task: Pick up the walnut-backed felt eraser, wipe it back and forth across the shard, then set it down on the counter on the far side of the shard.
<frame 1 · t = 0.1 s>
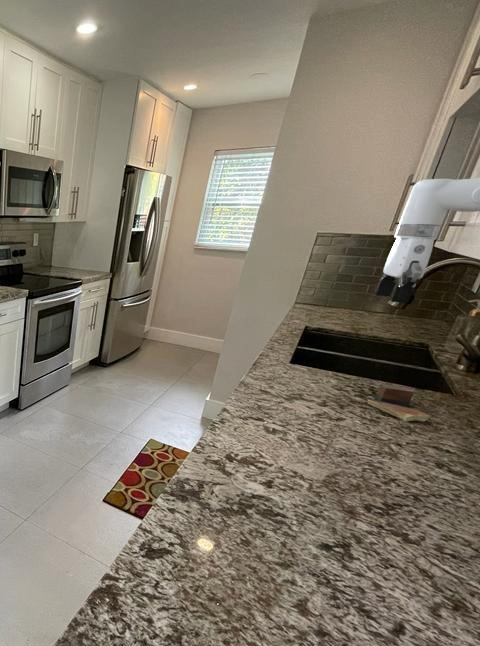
hand: (390, 298, 110), 29 cm above the table, tool pointing down, fingers open, 9 cm apart
eraser: (390, 402, 117), on the table
shard: (395, 415, 109), on the table
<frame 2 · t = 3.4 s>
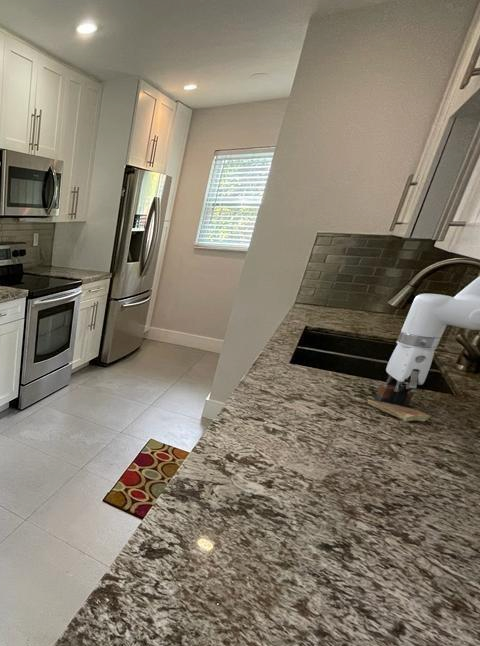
hand: (391, 401, 117), 0 cm above the table, tool pointing down, fingers closed on eraser, 3 cm apart
eraser: (390, 402, 117), on the table, touching gripper
everything else where it was.
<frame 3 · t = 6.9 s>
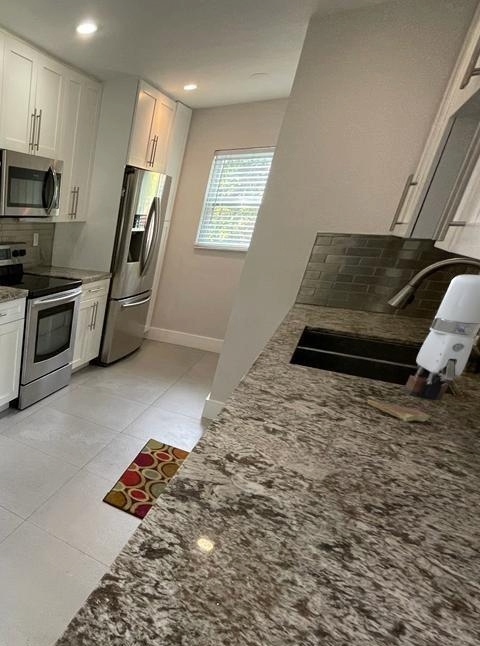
hand: (422, 395, 106), 7 cm above the table, tool pointing down, fingers closed on eraser, 3 cm apart
eraser: (421, 395, 106), point 6 cm above the table, touching gripper
everything else where it was.
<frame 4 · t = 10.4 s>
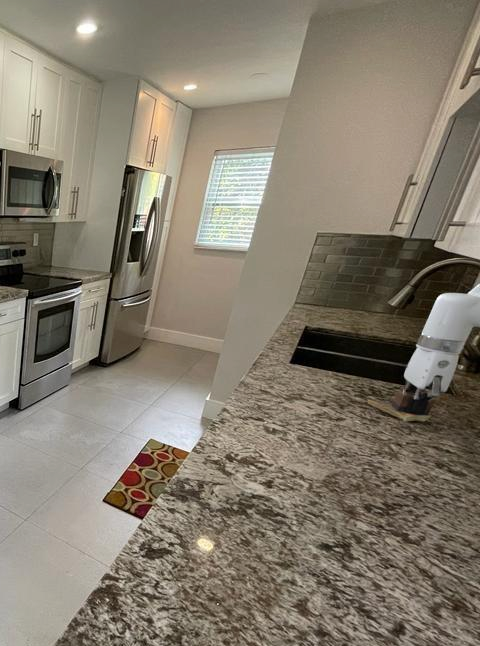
hand: (409, 409, 108), 2 cm above the table, tool pointing down, fingers closed on eraser, 3 cm apart
eraser: (409, 410, 108), point 2 cm above the table, touching gripper
everything else where it was.
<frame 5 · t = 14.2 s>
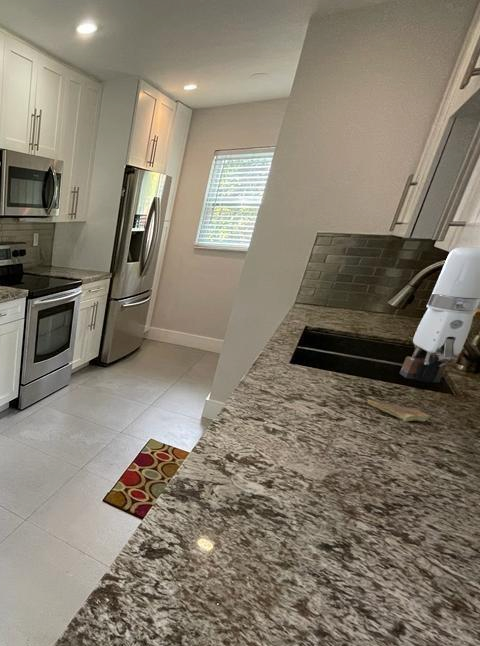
hand: (419, 376, 100), 13 cm above the table, tool pointing down, fingers closed on eraser, 3 cm apart
eraser: (418, 377, 100), point 13 cm above the table, touching gripper
everything else where it was.
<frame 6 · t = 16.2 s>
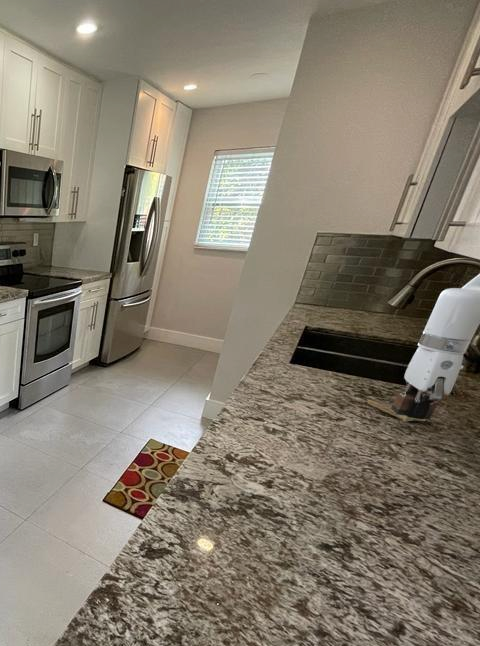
hand: (410, 413, 101), 4 cm above the table, tool pointing down, fingers closed on eraser, 3 cm apart
eraser: (409, 414, 101), point 4 cm above the table, touching gripper
everything else where it was.
when the fingers open (0 cm above the table, at t = 17.5 s): eraser stays where it is, on the table.
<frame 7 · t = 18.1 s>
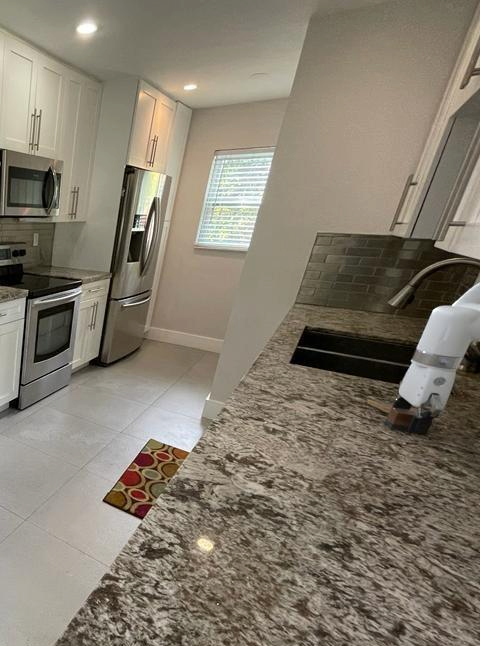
hand: (406, 424, 102), 1 cm above the table, tool pointing down, fingers open, 9 cm apart
eraser: (403, 428, 102), on the table
shard: (394, 415, 110), on the table, touching gripper
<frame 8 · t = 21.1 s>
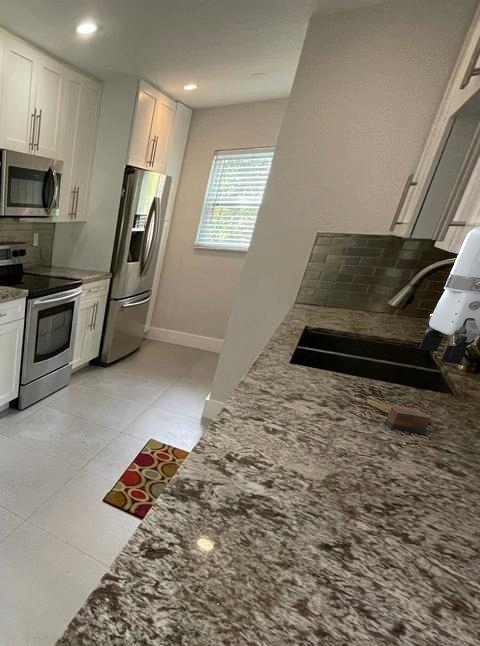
hand: (437, 356, 98), 18 cm above the table, tool pointing down, fingers open, 9 cm apart
shard: (394, 415, 110), on the table
everything else where it was.
at the end: eraser 0.2 cm from the target spot, on the table; eraser tilted 0°; shard moved 0.2 cm from its start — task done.
